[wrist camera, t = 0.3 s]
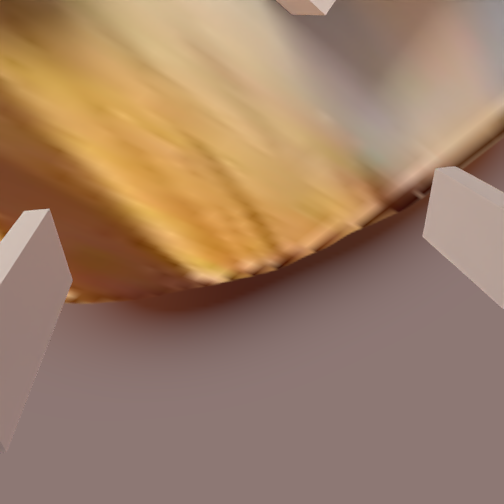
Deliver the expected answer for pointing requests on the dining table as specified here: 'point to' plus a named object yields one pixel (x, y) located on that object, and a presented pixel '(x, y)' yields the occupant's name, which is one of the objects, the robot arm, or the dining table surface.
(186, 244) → the dining table surface
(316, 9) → the grey rectangular block
